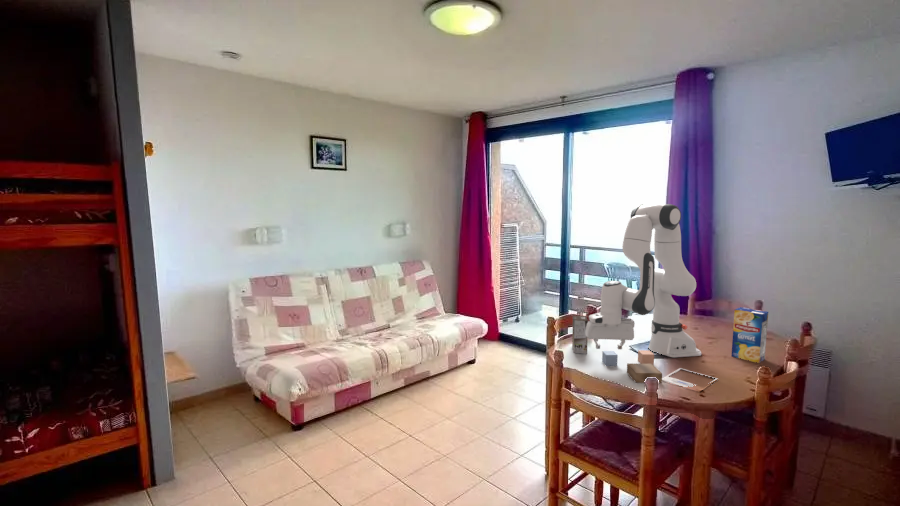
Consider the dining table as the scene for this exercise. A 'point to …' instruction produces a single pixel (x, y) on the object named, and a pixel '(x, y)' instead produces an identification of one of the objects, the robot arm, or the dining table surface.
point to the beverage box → (749, 334)
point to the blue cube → (609, 358)
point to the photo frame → (680, 382)
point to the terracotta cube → (645, 357)
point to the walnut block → (643, 372)
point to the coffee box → (579, 334)
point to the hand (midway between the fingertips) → (608, 348)
